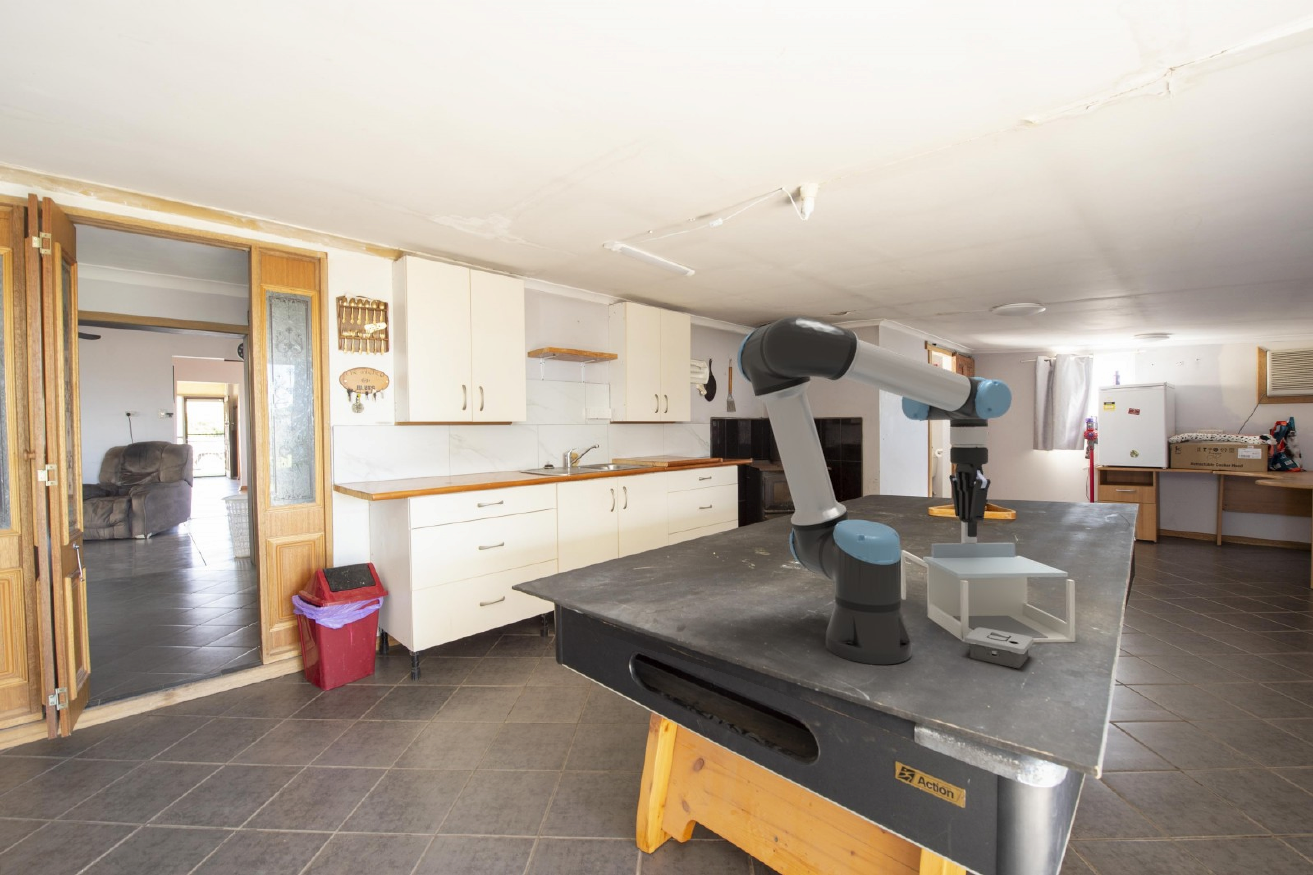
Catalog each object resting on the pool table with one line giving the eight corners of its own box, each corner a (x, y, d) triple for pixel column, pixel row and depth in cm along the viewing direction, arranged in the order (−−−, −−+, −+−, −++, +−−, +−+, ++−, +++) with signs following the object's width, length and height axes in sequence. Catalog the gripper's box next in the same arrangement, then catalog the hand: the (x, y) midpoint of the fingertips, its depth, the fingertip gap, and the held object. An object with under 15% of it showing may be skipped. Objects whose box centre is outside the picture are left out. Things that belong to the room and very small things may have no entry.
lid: (958, 577, 113) (957, 558, 113) (923, 560, 128) (923, 543, 128) (1067, 576, 113) (1067, 557, 113) (1019, 559, 128) (1019, 542, 128)
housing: (963, 642, 111) (963, 581, 111) (901, 598, 141) (901, 550, 140) (1075, 642, 111) (1074, 580, 111) (989, 598, 140) (989, 549, 140)
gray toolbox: (1025, 650, 97) (966, 628, 103) (1018, 679, 98) (960, 655, 104) (1036, 637, 104) (980, 618, 110) (1030, 664, 104) (974, 643, 111)
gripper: (1002, 446, 122) (1003, 556, 122) (969, 445, 135) (970, 544, 135) (967, 447, 122) (968, 557, 122) (938, 445, 135) (938, 544, 135)
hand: (969, 550), depth 129 cm, fingers closed
